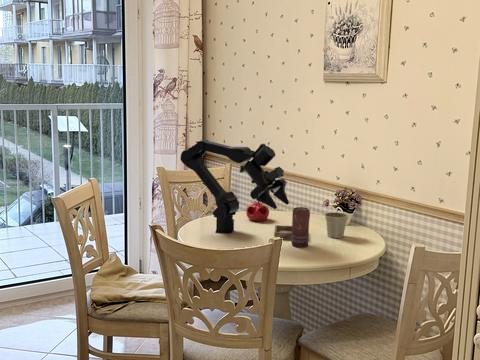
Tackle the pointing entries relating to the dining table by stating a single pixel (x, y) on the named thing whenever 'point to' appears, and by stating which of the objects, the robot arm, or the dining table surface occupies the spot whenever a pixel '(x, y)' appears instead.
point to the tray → (283, 232)
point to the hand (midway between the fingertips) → (282, 206)
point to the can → (300, 227)
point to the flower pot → (335, 224)
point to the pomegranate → (257, 212)
